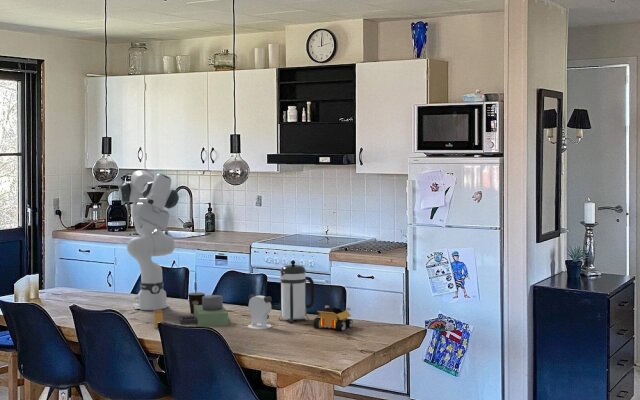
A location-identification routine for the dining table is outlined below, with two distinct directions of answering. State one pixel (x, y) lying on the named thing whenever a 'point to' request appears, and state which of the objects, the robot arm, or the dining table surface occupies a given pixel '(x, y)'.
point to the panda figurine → (259, 311)
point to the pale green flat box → (208, 312)
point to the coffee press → (295, 292)
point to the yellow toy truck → (333, 319)
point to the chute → (158, 317)
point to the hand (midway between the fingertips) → (146, 231)
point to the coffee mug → (195, 300)
